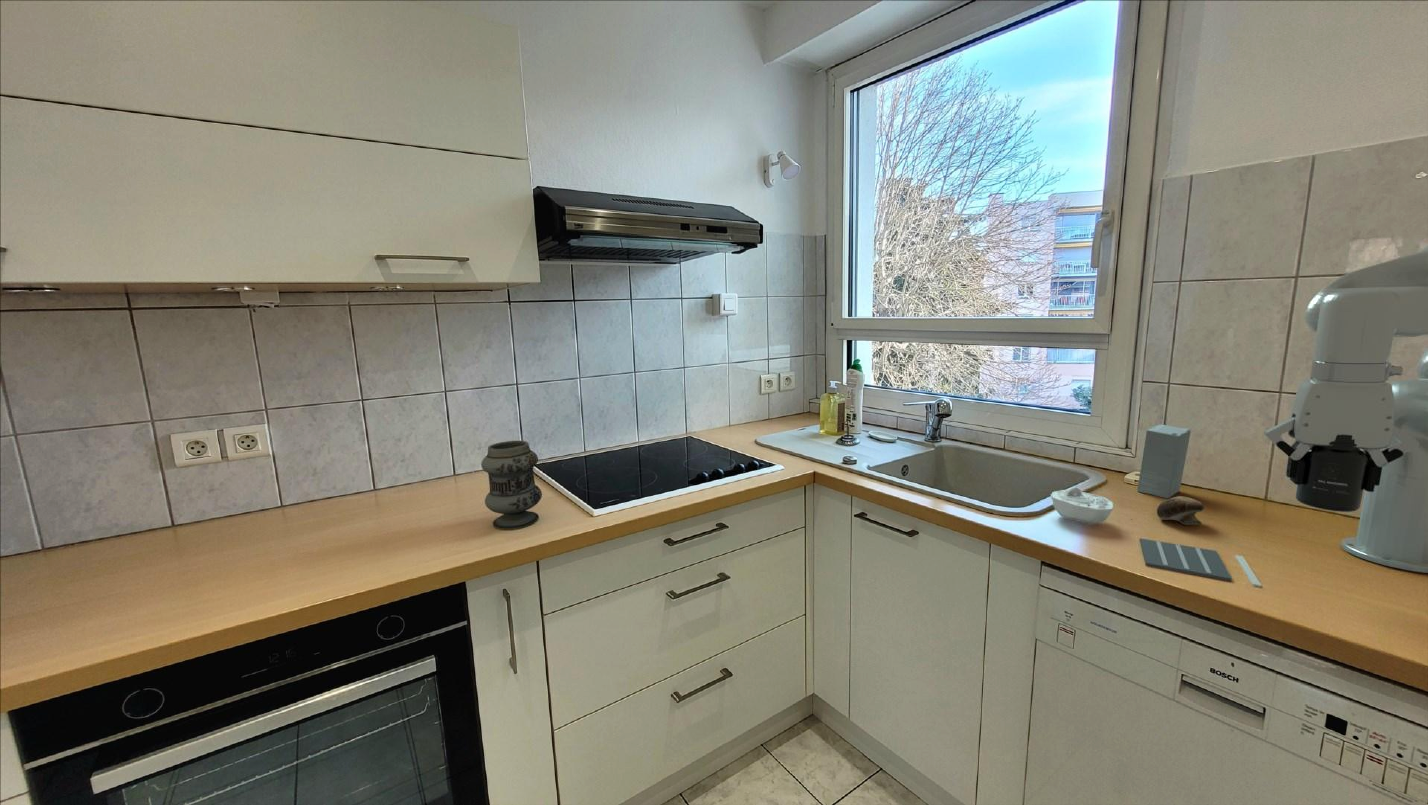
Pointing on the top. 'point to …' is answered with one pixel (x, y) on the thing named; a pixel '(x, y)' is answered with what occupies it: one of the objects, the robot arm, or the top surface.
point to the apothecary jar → (511, 484)
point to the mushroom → (1180, 510)
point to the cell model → (1081, 506)
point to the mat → (1184, 559)
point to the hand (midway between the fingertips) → (1329, 484)
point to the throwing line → (1248, 571)
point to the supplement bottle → (1334, 476)
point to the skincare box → (1163, 460)
